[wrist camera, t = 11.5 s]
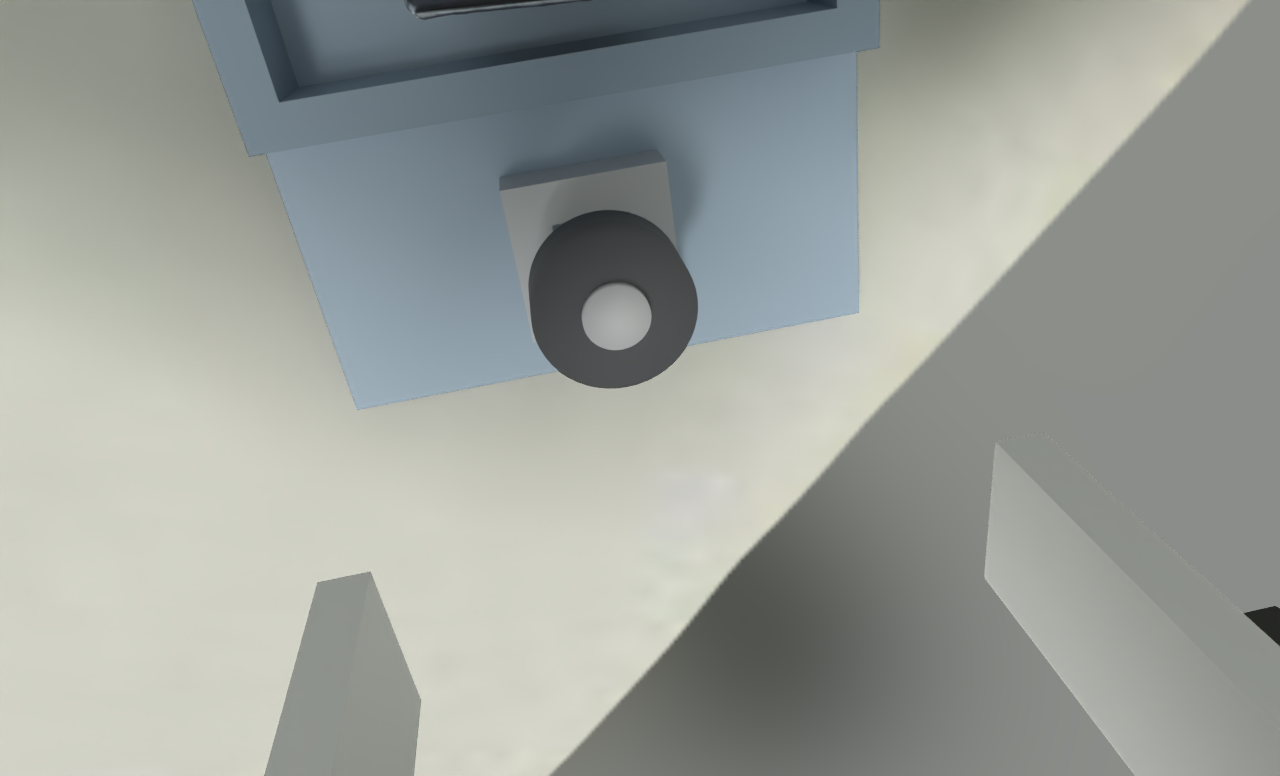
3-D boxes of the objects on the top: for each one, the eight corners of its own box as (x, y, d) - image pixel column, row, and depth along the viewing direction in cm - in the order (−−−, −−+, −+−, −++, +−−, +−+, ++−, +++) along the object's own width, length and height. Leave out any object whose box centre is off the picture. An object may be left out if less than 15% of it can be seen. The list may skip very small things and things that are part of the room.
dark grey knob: (542, 345, 26) (549, 407, 23) (512, 208, 24) (515, 254, 20) (680, 319, 26) (708, 376, 23) (663, 181, 24) (690, 221, 21)
